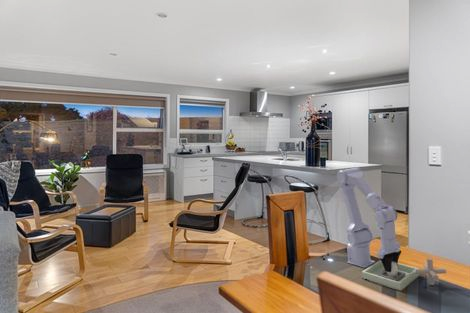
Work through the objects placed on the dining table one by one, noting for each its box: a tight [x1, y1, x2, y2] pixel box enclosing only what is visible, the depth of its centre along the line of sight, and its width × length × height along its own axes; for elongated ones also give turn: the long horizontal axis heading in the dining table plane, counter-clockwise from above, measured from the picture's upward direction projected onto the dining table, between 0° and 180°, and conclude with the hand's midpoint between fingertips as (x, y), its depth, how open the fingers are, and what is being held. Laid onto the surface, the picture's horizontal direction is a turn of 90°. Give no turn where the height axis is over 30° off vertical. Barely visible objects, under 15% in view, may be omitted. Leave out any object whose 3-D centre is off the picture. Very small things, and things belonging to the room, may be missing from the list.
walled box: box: [361, 259, 421, 292], centre depth 133 cm, size 16×16×3 cm
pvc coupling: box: [387, 261, 398, 278], centre depth 132 cm, size 4×4×6 cm
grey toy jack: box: [416, 257, 447, 286], centre depth 124 cm, size 10×10×10 cm
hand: (391, 269), depth 132 cm, fingers closed on pvc coupling, 4 cm apart
